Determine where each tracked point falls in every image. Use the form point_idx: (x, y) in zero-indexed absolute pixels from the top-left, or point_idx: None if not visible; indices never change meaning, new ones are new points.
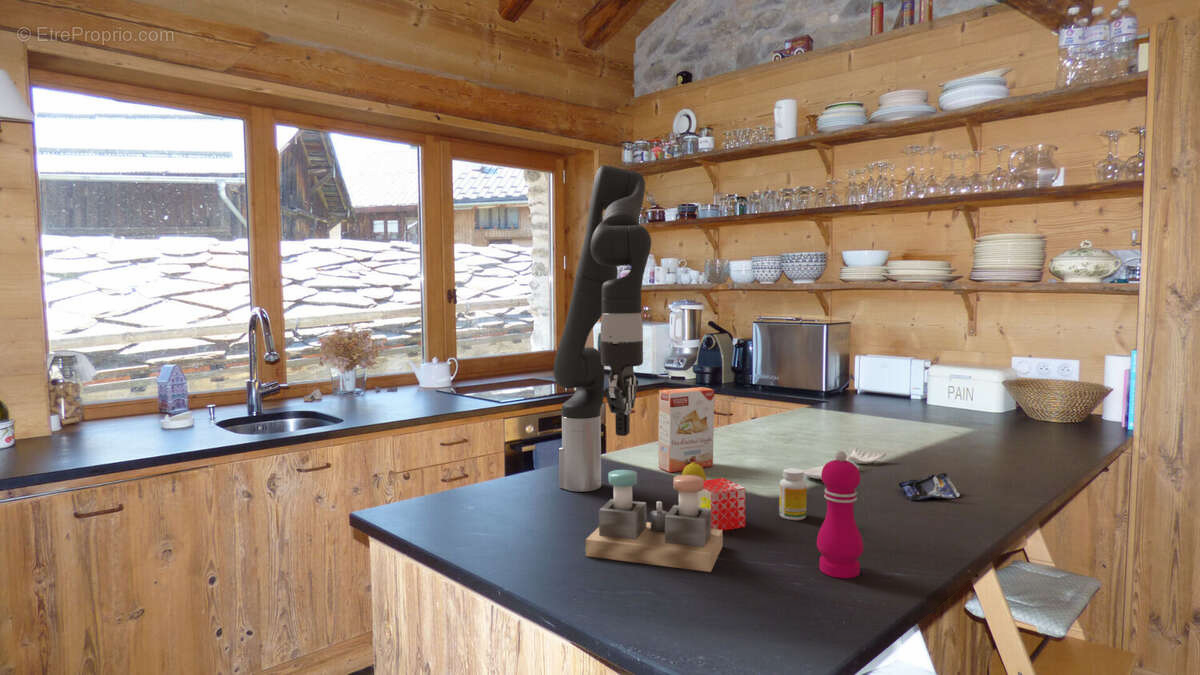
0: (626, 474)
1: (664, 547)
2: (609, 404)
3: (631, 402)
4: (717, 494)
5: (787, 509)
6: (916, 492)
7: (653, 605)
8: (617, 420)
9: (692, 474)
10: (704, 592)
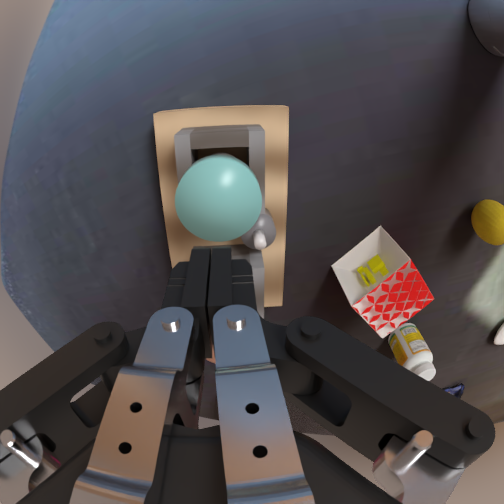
0: (211, 216)
1: (174, 250)
2: (43, 367)
3: (293, 400)
4: (362, 306)
5: (395, 341)
6: (450, 391)
7: (69, 258)
8: (165, 304)
9: (488, 229)
10: (125, 297)
